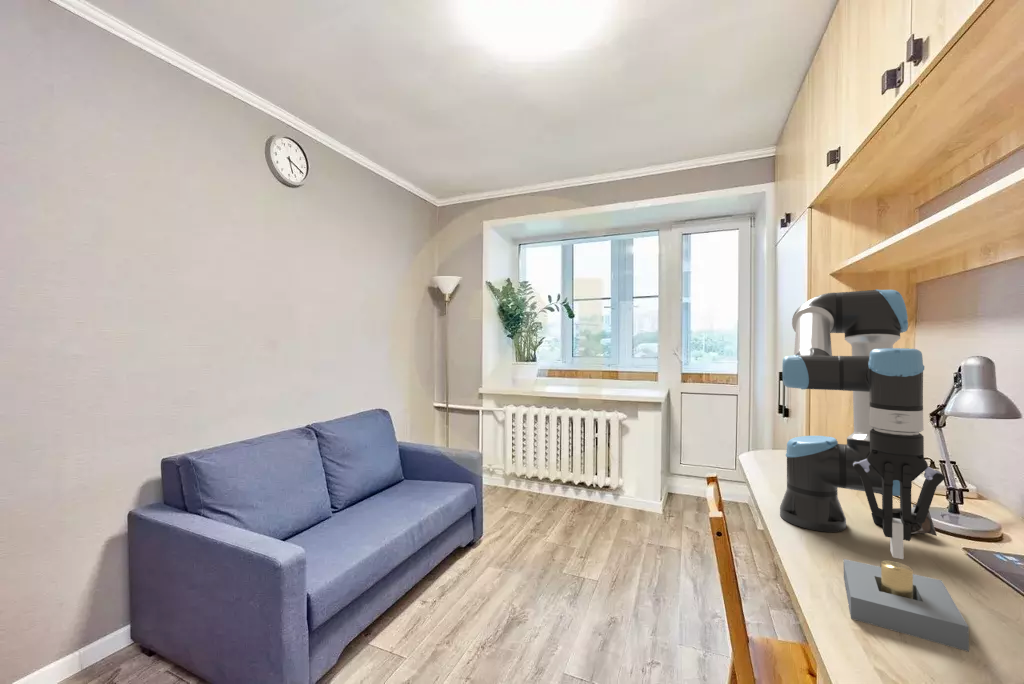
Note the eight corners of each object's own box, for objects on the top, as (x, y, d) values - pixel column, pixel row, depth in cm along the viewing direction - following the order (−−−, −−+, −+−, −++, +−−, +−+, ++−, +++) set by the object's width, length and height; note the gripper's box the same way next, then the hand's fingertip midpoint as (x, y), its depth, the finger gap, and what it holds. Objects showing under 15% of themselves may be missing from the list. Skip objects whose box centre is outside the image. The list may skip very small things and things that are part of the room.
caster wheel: (870, 528, 119) (912, 527, 117) (892, 538, 109) (939, 536, 106) (863, 503, 121) (904, 501, 118) (884, 510, 110) (930, 507, 108)
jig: (843, 577, 91) (843, 558, 91) (941, 601, 82) (941, 580, 82) (850, 618, 77) (850, 596, 77) (968, 651, 69) (968, 626, 69)
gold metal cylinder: (879, 599, 83) (879, 558, 83) (910, 606, 81) (909, 564, 81) (883, 611, 79) (883, 568, 79) (915, 619, 77) (915, 575, 77)
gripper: (853, 430, 80) (854, 554, 81) (950, 438, 73) (951, 575, 73) (849, 423, 86) (850, 538, 87) (938, 430, 79) (939, 555, 80)
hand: (896, 555), depth 80 cm, fingers closed
